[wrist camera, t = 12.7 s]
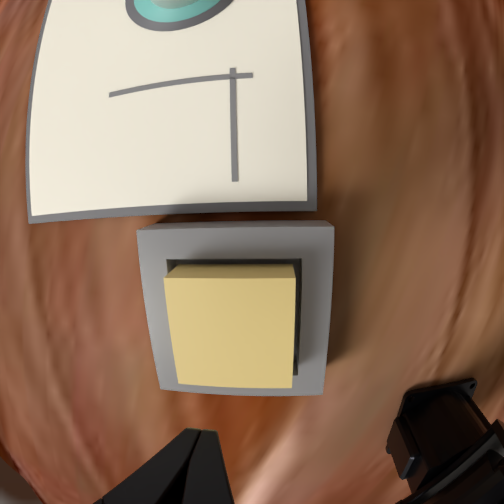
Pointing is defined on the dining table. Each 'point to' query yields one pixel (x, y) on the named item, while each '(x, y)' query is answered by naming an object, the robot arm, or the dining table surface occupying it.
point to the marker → (172, 3)
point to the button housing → (245, 252)
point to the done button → (232, 324)
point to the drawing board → (170, 110)
